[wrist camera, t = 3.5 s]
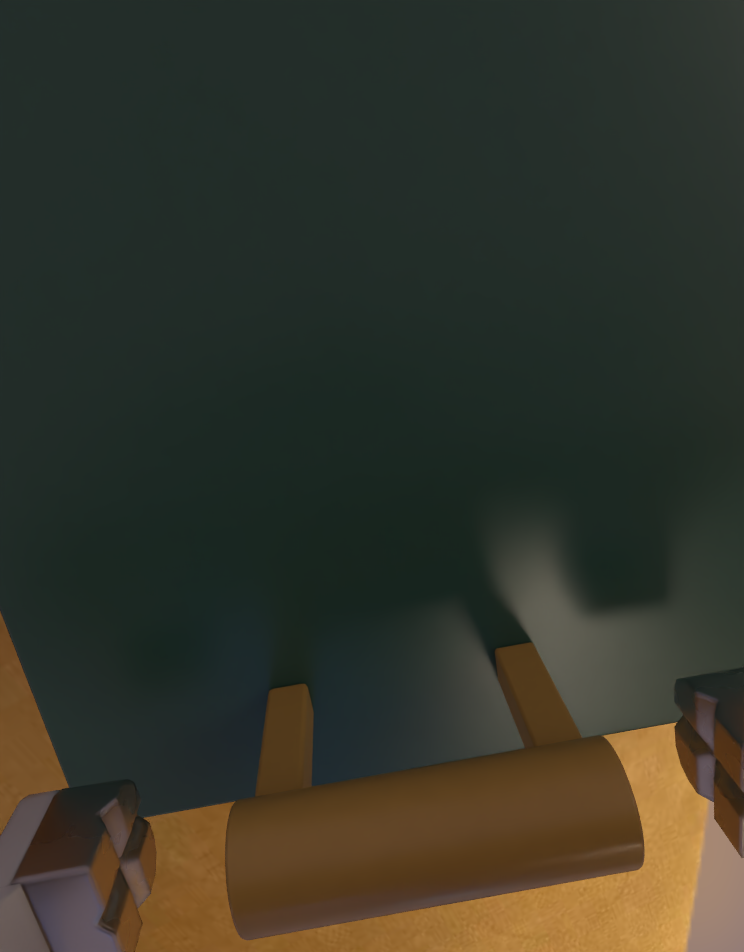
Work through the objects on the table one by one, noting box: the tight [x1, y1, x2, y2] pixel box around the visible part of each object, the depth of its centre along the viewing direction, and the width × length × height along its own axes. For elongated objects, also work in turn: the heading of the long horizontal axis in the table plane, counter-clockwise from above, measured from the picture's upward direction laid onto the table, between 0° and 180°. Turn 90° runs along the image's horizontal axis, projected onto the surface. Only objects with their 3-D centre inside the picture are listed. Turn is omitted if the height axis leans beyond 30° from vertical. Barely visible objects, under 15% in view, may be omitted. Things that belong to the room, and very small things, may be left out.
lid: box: [0, 0, 744, 940], centre depth 8 cm, size 16×13×5 cm
